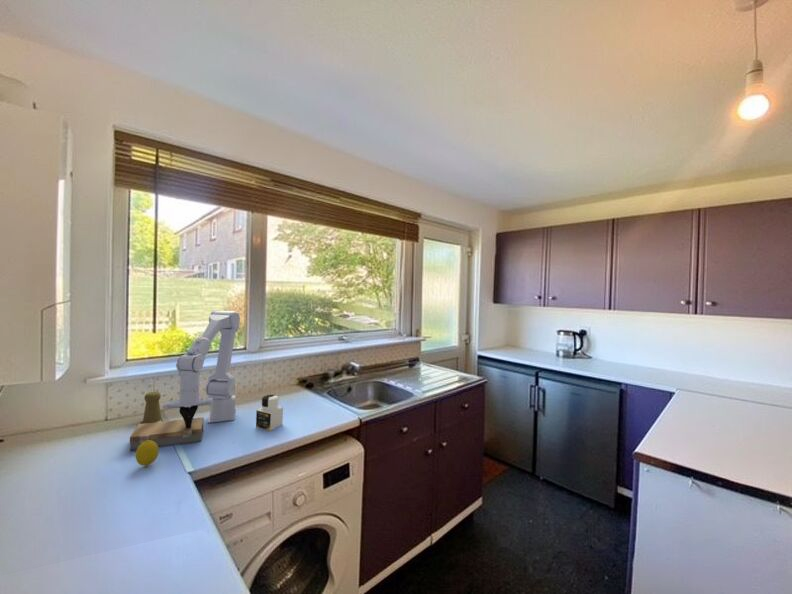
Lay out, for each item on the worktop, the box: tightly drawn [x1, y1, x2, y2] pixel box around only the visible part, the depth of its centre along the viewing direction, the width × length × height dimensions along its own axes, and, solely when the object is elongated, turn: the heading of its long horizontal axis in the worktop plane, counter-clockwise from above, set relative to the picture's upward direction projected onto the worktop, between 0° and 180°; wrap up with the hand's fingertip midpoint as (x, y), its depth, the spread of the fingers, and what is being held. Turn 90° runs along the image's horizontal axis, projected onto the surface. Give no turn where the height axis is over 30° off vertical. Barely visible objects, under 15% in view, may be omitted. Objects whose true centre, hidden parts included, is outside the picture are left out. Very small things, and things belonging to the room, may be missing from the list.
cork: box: [142, 391, 162, 424], centre depth 133 cm, size 6×6×11 cm
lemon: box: [135, 440, 159, 467], centre depth 102 cm, size 6×6×8 cm
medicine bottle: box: [255, 394, 284, 432], centre depth 133 cm, size 7×7×12 cm
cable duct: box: [129, 421, 205, 452], centre depth 118 cm, size 20×10×3 cm, turn 115°
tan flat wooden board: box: [129, 417, 205, 443], centre depth 118 cm, size 20×11×2 cm, turn 115°
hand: (188, 427), depth 119 cm, fingers closed, pressing on tan flat wooden board
